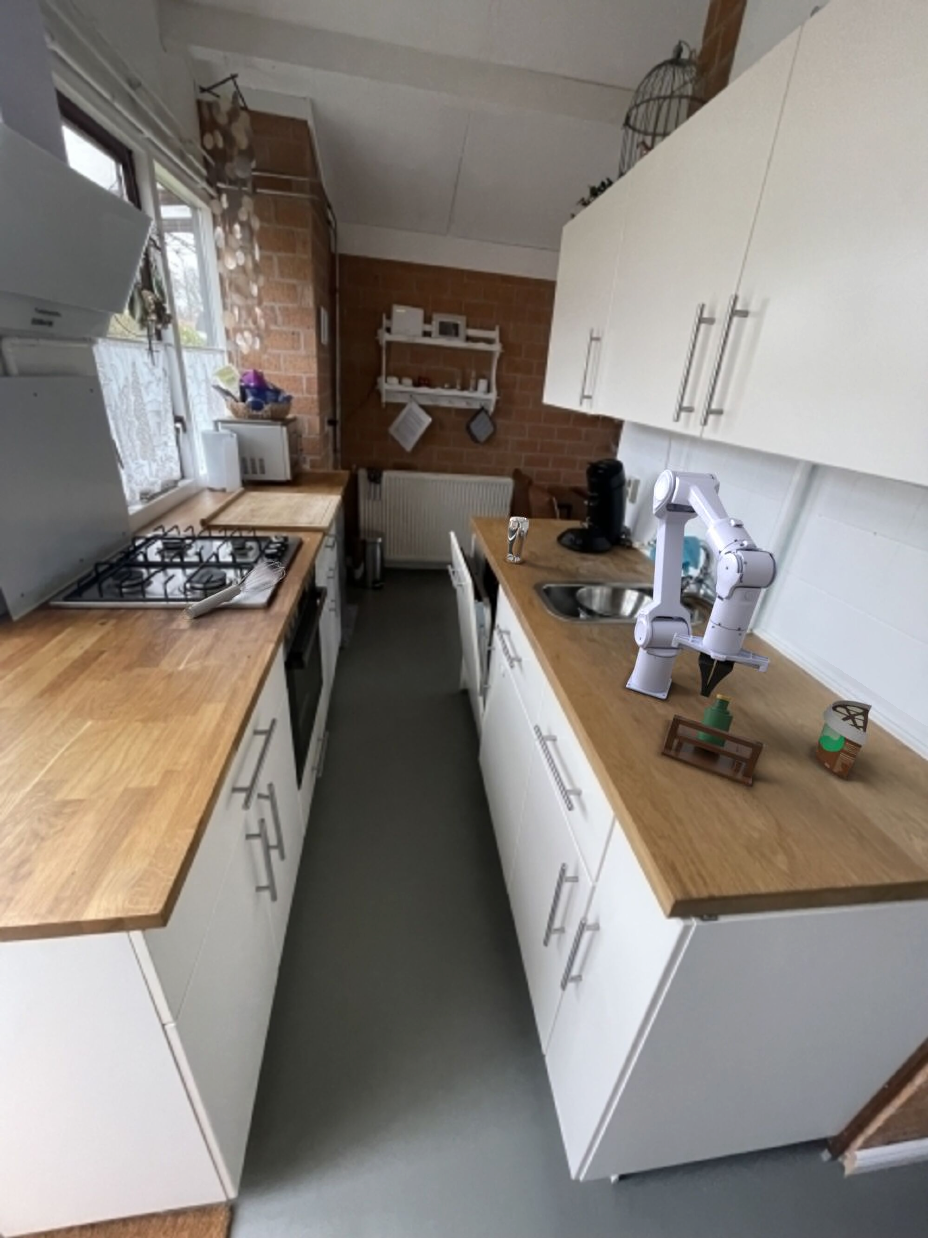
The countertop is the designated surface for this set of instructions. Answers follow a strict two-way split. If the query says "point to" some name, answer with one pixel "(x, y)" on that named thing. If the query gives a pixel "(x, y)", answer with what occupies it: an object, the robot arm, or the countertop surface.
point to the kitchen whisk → (223, 596)
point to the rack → (712, 750)
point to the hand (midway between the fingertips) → (704, 693)
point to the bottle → (717, 720)
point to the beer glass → (516, 538)
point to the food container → (842, 736)
